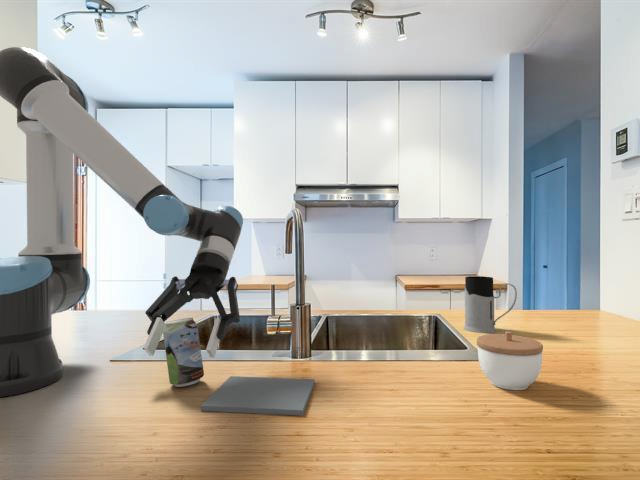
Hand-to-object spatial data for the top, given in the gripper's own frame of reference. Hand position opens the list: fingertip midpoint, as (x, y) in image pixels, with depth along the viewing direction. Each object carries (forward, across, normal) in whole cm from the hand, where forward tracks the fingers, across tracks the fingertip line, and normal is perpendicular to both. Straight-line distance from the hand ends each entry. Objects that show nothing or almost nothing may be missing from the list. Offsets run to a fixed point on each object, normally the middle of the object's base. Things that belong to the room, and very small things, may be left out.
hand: (179, 352), depth 70 cm
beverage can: (+3, 0, -6) cm, 7 cm away
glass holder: (-31, -68, -40) cm, 85 cm away
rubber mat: (+6, -16, -3) cm, 17 cm away
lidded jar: (-1, -59, -10) cm, 60 cm away
